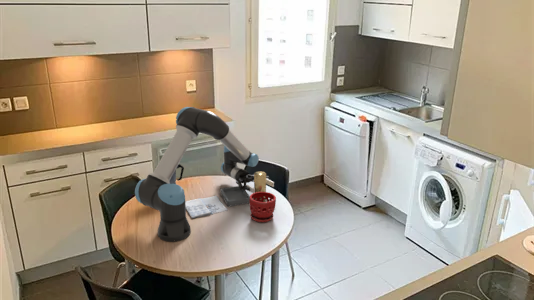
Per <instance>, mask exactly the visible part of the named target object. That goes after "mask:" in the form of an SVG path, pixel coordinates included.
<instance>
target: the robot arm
mask: <svg viewBox="0 0 534 300" xmlns="http://www.w3.org/2000/svg"><path fill="white" fill-rule="evenodd" d="M175 119H176V120H175V124H176V126H175V129H176V132H175V134H174V135H173V137H172V139H171V140H170V143H169V144H168V146H167V148H166V149H165V151H164V153H163V155H162V157H161V158H160V160H159V162H158V163H157V166H156V167H155V169H154V170H153V172H152V173H149V174H148V175H147V177H146V178H143V179H141V180H139V181H138V182H137V184H136V185H135V189H134V196H135V199H136V201H137V202H139V203H140V204H142V205H143V206H147V207H149V208H152V209H154V210H157V211H159V217H160V221H159V224H158V227H157V236H158V238H159V239H160V240H162V241H164V242H169V243H171V242H172V243H174V242H180V241H182V240H184V239H187V238H188V237H189V236H190V235H191V232H192V230H191V229H192V228H191V225H190V223H189V220H188V218H187V212H186V211H187V209H186V206H185V201H186V194H185V190H184V188H183V187H182V186H181V185H179V184H178V183H176V184H170V182H169V181H170V179H171V177H172V175H173V173H174V172H175V170H176V171H177V169H178V168H177V166H178V165H179V164H180V162H181V160H182V159H183V157H184V155H185V153H186V152H187V149H188V148H189V146H190V144H191V142H192V140H195V139H197V138H198V136H199V134H204V135H206V136H207V135H208V136H210V137H212V138H213V139H215V140H216V141H219V142H220V143H221V144H222V145H223V162H222V163H221V166H220V171H221V173H223V174H224V175H226V176H228V177H230V178H232V179H234V180H235V183H236V184H237V186H239V188H240V190H242V189H244V191H246V192H247V191H248V192H250V193H251V194H253V193H255V188H254V187H252V186H251V185H249V184H247V183H254V174H250V172H249V171H247V170H245V169H244V168H242V167H240V166H238V164H240V165H244V166H246V167H247V166H248V167H252V168H253V167H256V166H257V165H258V163H259V161H260V160H259V159H260V158H259V155H258V154H256V153H254V152H251V150H249V149H248V148H247V147H246V146H245V144H243V142H242V141H241V140H239V138H238V137H237V136H236V135H235V134H234V133H233V132H232V131H231V130H230V126H229V125H228V124H227V122H225V120H223V119H222V118H221V117H220V116H219V115H217V114H216V113H214V112H213V111H210V110H208V109H207V110H206V109H201V108H197V107H194V106H185V107H183V108H181V109H179V111H178V112H177V114H176V117H175ZM176 168H177V169H176ZM266 185H268V186H271V187H272V188H274V187H275V181H272V180H271V179H270V176H269V175H266Z"/></svg>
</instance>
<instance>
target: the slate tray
mask: <svg viewBox="0 0 534 300" xmlns="http://www.w3.org/2000/svg"><path fill="white" fill-rule="evenodd" d="M220 195H221V197H222V198H223V200H224V202H225V204H226V206H227V207H234V206H241V205H247V204H249V200H250V195H249V193H248V192H247V190H246V191H244V189H242V190H240V188H239V186H238V185H237V186H230V187H222V188H220Z"/></svg>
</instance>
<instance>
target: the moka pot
mask: <svg viewBox="0 0 534 300" xmlns="http://www.w3.org/2000/svg"><path fill="white" fill-rule="evenodd" d="M177 169H180V174H179V175H180V176H179V178H177ZM184 170H185V168H184V166H183V165H182V164H180V163H179V164H178V166H177V168H176V170H175V172H174V173H173V175H172V177H171V179H170V181H169V182H170V184H177V181H181V180H182V178H183V174H184Z"/></svg>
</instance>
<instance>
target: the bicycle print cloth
mask: <svg viewBox="0 0 534 300" xmlns="http://www.w3.org/2000/svg"><path fill="white" fill-rule="evenodd" d="M185 206H186V211H187V213H188V215H189V216H190V217H191V219H195V218H200V217H205V216H210V215H214V214H218V213H222V212H224V213H225V212H227V211H228V209H227V207H226V206H225V205H224V204H223V203H222V201H220V198H219V196H217V195H214V196H210V197H209V196H208V197H203V198H201V197H198V198H196V199H191V200H185Z"/></svg>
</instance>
